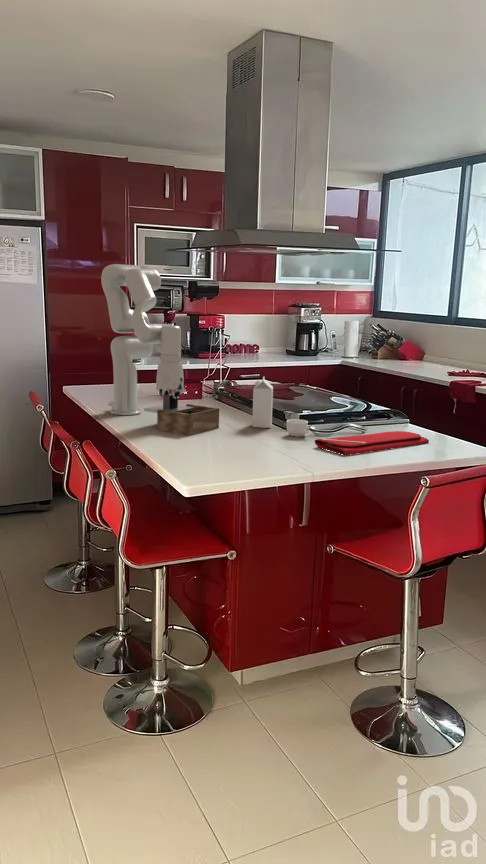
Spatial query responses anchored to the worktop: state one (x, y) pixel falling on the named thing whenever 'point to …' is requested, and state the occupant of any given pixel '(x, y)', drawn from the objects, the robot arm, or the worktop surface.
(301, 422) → the teacup
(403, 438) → the dish drying mat
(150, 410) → the cover plate
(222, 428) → the worktop surface
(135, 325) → the robot arm
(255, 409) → the milk carton
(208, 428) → the walnut box
